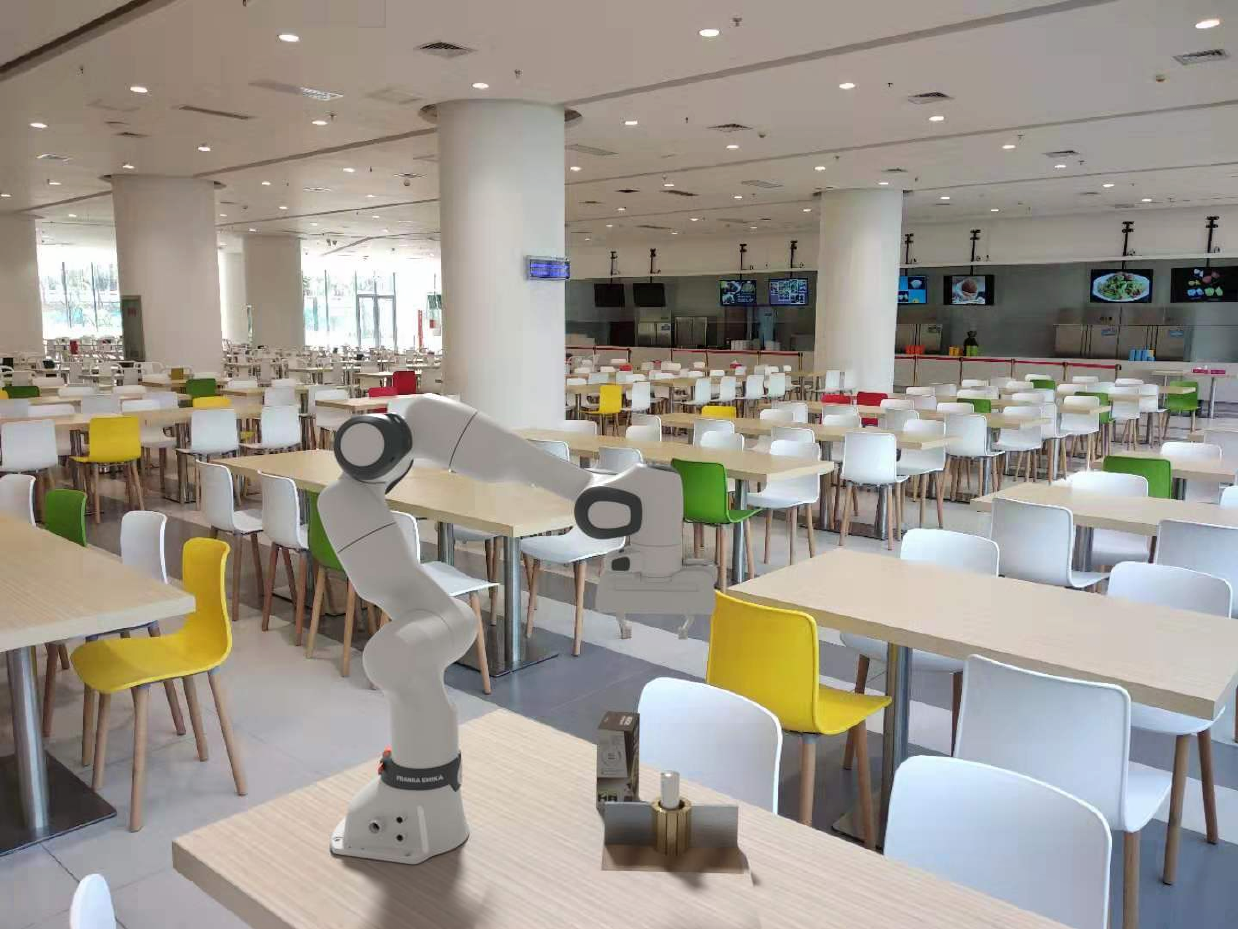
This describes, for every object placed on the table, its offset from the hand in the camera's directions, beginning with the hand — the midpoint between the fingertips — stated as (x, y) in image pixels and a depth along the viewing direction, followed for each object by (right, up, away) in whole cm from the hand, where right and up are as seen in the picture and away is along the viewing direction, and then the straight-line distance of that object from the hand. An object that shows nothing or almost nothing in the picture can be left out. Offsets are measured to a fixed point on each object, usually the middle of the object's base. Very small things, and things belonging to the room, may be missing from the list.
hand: (654, 638), depth 162 cm
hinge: (+2, -33, -6) cm, 33 cm away
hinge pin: (+2, -33, -6) cm, 33 cm away
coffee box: (-6, -32, +10) cm, 34 cm away
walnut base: (+2, -34, -8) cm, 35 cm away
